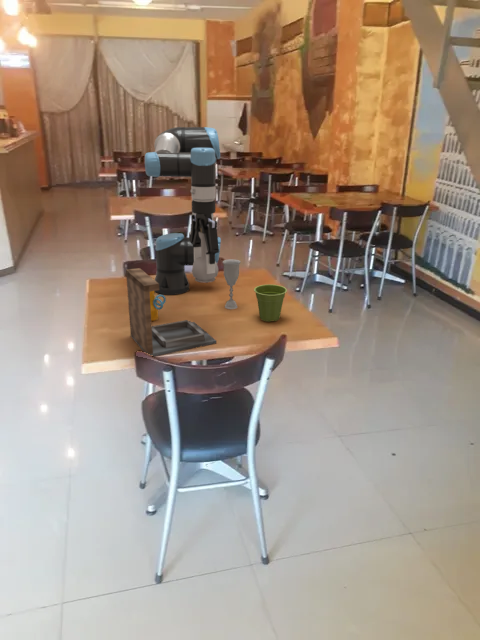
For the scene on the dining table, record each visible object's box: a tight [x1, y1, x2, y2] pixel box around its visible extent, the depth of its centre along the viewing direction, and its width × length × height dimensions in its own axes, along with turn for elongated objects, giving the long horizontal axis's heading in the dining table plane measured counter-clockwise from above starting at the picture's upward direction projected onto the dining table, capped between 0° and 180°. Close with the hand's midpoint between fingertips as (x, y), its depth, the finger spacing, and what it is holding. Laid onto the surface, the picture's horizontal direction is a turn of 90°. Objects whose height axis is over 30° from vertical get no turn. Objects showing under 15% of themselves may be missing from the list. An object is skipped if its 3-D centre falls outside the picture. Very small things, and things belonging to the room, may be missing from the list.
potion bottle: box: [191, 228, 219, 284], centre depth 163 cm, size 9×9×18 cm
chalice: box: [222, 259, 241, 310], centre depth 192 cm, size 7×7×18 cm
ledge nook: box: [125, 267, 217, 357], centre depth 161 cm, size 18×23×23 cm
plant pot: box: [253, 284, 288, 322], centre depth 182 cm, size 12×12×11 cm
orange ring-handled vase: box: [150, 277, 167, 322], centre depth 179 cm, size 12×10×15 cm
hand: (204, 269), depth 165 cm, fingers closed on potion bottle, 9 cm apart
